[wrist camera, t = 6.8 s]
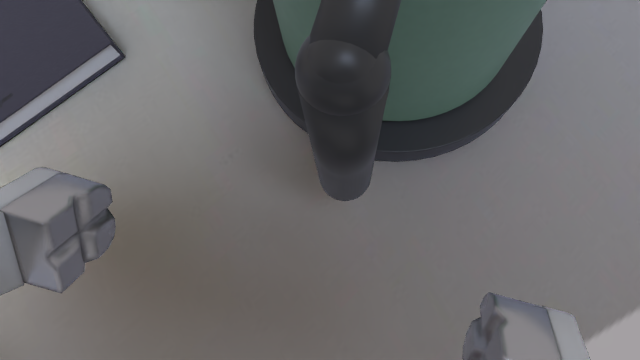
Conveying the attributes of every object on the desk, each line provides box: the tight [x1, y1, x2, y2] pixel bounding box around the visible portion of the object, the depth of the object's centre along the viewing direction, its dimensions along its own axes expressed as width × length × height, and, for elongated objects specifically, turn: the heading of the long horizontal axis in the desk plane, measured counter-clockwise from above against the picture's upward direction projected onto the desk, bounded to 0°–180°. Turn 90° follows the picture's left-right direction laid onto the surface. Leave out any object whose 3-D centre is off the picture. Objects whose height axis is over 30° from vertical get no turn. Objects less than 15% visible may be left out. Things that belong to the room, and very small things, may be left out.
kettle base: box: [254, 0, 543, 161], centre depth 23 cm, size 15×15×2 cm
